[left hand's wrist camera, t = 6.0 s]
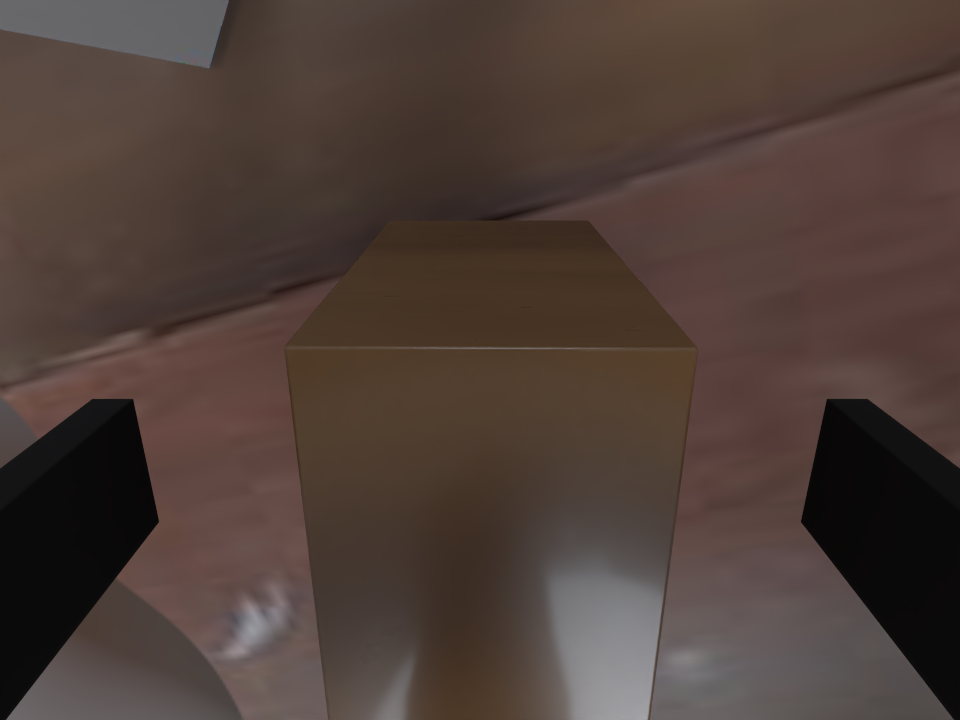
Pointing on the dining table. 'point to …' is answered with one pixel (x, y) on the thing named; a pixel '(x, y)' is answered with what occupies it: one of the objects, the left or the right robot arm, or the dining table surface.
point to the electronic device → (124, 25)
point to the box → (490, 474)
